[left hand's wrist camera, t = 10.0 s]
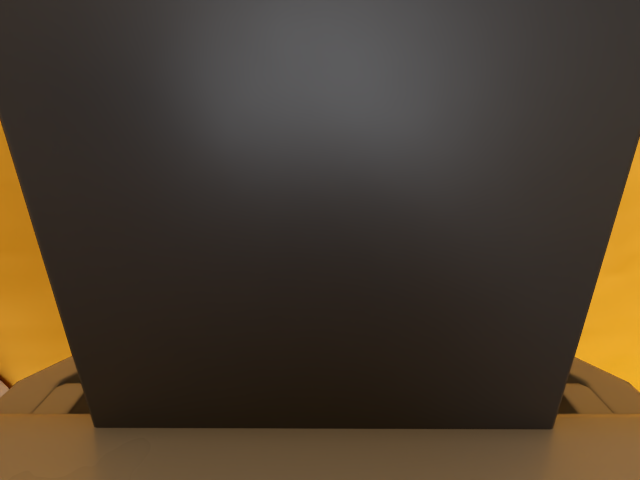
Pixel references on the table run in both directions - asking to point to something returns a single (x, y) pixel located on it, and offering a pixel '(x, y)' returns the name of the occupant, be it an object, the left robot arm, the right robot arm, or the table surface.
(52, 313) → the table surface
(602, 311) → the table surface
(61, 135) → the box
